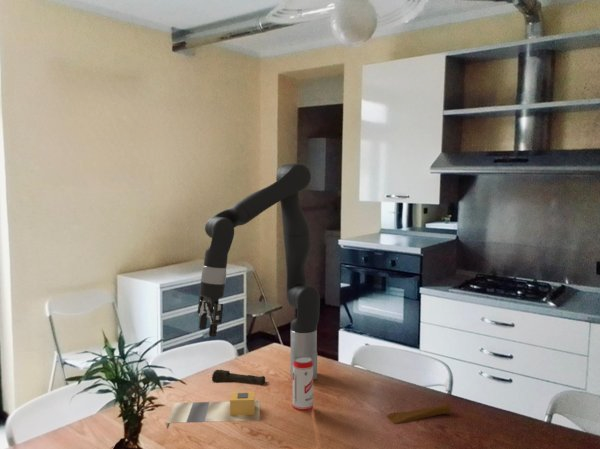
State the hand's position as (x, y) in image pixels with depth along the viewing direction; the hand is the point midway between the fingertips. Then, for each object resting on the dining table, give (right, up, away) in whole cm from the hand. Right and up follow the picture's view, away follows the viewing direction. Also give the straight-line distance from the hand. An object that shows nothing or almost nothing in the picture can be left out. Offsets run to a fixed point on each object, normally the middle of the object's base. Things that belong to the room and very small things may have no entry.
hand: (207, 332), depth 147 cm
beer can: (+30, -23, -4) cm, 38 cm away
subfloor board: (+4, -23, -7) cm, 24 cm away
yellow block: (+12, -22, -7) cm, 26 cm away
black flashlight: (+8, -22, +14) cm, 27 cm away
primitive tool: (+64, -24, -7) cm, 69 cm away
